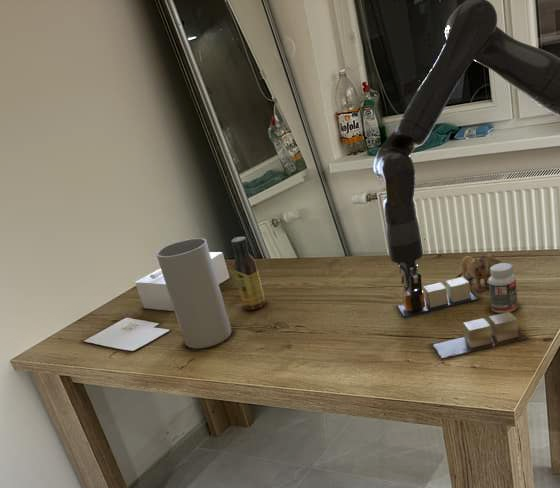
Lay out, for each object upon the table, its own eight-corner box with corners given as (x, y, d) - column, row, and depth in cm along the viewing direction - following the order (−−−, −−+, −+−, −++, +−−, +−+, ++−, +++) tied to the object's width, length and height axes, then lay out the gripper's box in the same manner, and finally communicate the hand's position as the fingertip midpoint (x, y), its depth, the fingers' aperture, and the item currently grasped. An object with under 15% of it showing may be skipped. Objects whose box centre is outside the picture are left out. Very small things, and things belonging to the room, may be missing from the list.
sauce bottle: (241, 306, 192) (223, 239, 183) (262, 299, 193) (245, 232, 184) (248, 313, 186) (229, 244, 177) (269, 306, 187) (251, 237, 178)
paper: (80, 343, 195) (78, 340, 195) (124, 317, 206) (123, 314, 205) (135, 352, 179) (134, 349, 179) (180, 324, 190) (179, 321, 190)
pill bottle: (517, 313, 150) (513, 270, 145) (490, 314, 152) (486, 273, 148) (518, 302, 154) (515, 261, 150) (492, 303, 157) (488, 263, 152)
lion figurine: (506, 287, 163) (503, 252, 159) (488, 295, 161) (485, 259, 157) (465, 275, 175) (461, 242, 171) (448, 282, 173) (444, 249, 169)
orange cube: (420, 301, 165) (418, 285, 164) (425, 307, 161) (423, 292, 160) (403, 305, 166) (400, 290, 164) (407, 311, 162) (405, 296, 160)
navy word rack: (467, 290, 166) (466, 273, 165) (477, 300, 160) (475, 283, 158) (397, 306, 167) (395, 290, 165) (404, 317, 161) (401, 300, 159)
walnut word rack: (513, 326, 144) (512, 308, 143) (526, 339, 138) (525, 320, 136) (432, 345, 145) (430, 327, 143) (442, 359, 139) (439, 340, 137)
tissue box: (229, 277, 217) (220, 245, 212) (175, 311, 201) (164, 276, 196) (198, 276, 226) (189, 245, 221) (143, 308, 210) (132, 275, 205)
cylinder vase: (229, 323, 183) (204, 234, 171) (234, 341, 171) (207, 247, 160) (184, 336, 182) (156, 247, 171) (186, 354, 171) (156, 261, 160)
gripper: (428, 242, 149) (437, 313, 157) (412, 226, 162) (422, 292, 170) (394, 251, 150) (406, 321, 157) (381, 234, 162) (392, 299, 170)
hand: (414, 305), depth 164 cm, fingers closed on orange cube, 4 cm apart
